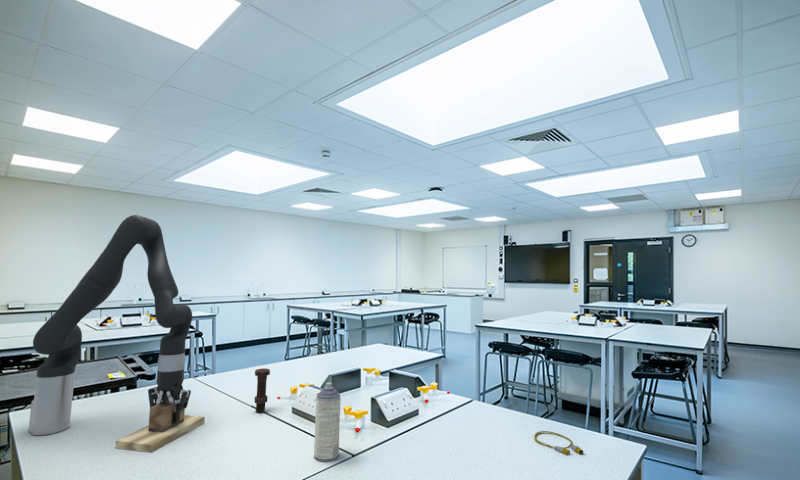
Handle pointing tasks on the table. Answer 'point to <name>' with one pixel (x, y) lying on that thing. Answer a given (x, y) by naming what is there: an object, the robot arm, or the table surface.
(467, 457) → the table surface
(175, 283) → the robot arm
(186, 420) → the pine board
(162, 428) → the block
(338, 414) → the aerosol can
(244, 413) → the table surface
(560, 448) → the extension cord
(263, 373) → the bolt
